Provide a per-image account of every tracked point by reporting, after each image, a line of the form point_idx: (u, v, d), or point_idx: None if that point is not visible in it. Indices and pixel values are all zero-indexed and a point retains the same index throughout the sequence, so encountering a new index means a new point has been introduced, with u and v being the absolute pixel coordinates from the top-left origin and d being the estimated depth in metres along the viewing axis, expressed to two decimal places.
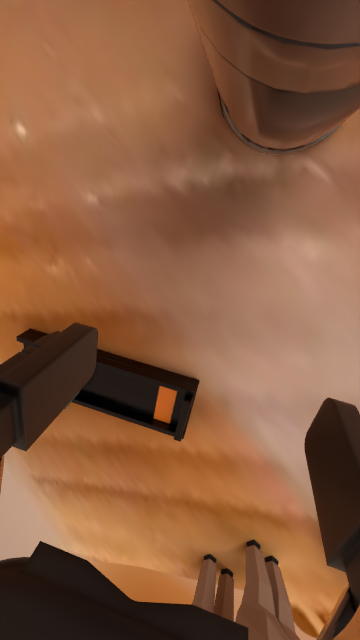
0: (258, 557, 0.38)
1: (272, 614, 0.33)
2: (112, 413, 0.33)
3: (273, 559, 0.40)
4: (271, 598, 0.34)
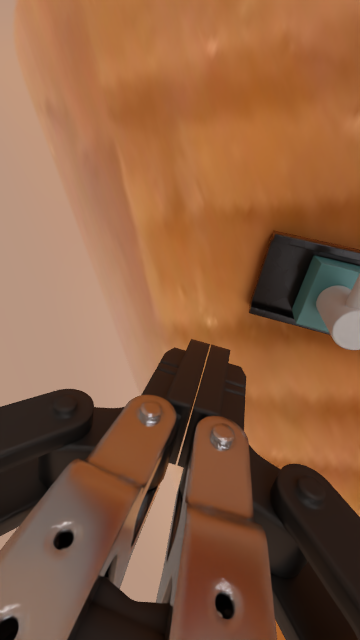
0: None
1: None
2: None
3: None
4: None
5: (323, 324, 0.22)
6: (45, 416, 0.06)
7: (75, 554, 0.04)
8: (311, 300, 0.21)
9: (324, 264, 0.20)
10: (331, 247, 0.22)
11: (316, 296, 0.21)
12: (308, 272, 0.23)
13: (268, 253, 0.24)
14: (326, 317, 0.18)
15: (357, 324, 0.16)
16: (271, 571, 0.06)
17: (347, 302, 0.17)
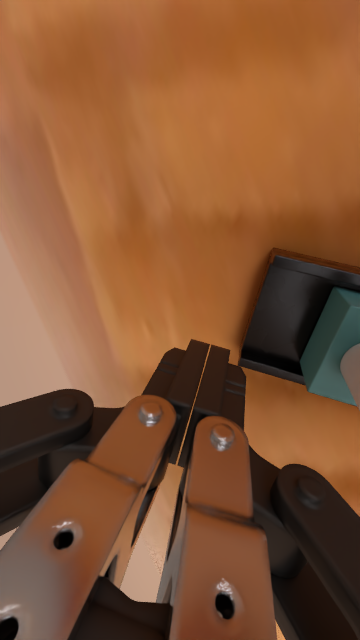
0: None
1: None
2: None
3: None
4: None
5: (350, 395, 0.14)
6: (45, 416, 0.06)
7: (75, 554, 0.04)
8: (332, 360, 0.14)
9: (355, 307, 0.12)
10: None
11: (340, 355, 0.13)
12: (325, 312, 0.15)
13: (265, 282, 0.16)
14: None
15: None
16: (271, 571, 0.06)
17: None
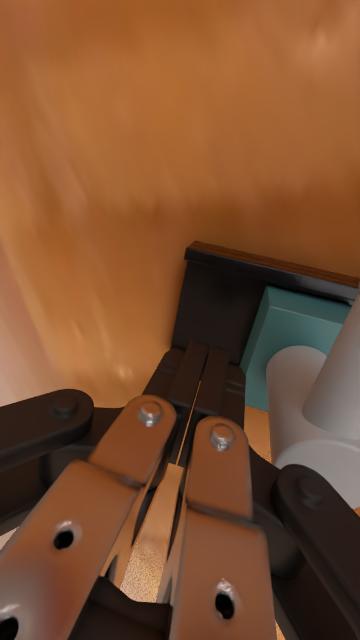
0: None
1: None
2: None
3: None
4: None
5: None
6: (45, 416, 0.06)
7: (75, 554, 0.04)
8: (258, 367, 0.12)
9: (275, 308, 0.11)
10: (279, 271, 0.12)
11: (265, 362, 0.12)
12: (258, 313, 0.14)
13: (185, 278, 0.15)
14: (270, 425, 0.09)
15: (326, 467, 0.07)
16: (271, 571, 0.06)
17: (306, 409, 0.08)
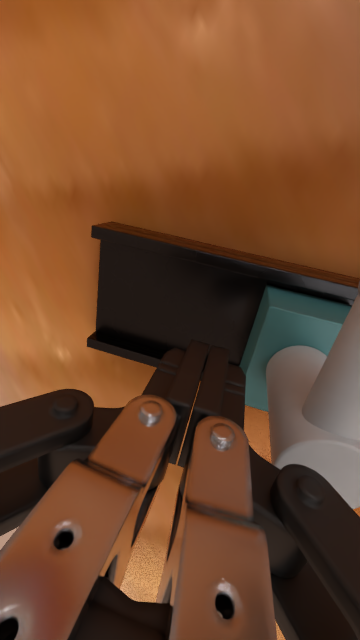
0: None
1: None
2: None
3: None
4: None
5: None
6: (45, 416, 0.06)
7: (75, 554, 0.04)
8: (257, 367, 0.12)
9: (275, 308, 0.11)
10: (176, 246, 0.13)
11: (265, 362, 0.12)
12: (258, 313, 0.14)
13: (101, 257, 0.15)
14: (270, 425, 0.09)
15: (326, 467, 0.07)
16: (271, 571, 0.06)
17: (306, 409, 0.08)
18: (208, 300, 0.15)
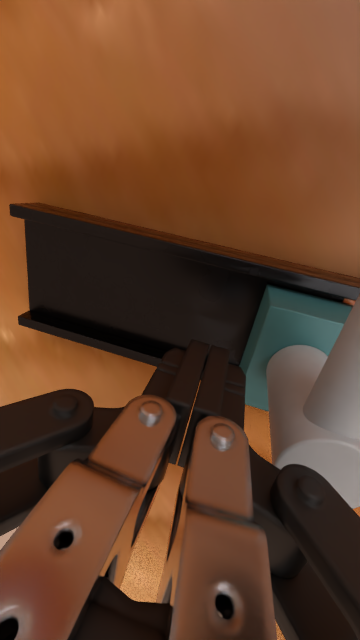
0: None
1: None
2: None
3: None
4: None
5: None
6: (46, 416, 0.06)
7: (75, 554, 0.04)
8: (258, 367, 0.12)
9: (276, 307, 0.11)
10: (86, 223, 0.14)
11: (266, 361, 0.12)
12: (258, 313, 0.14)
13: (26, 236, 0.16)
14: (270, 424, 0.09)
15: (327, 466, 0.07)
16: (271, 571, 0.06)
17: (306, 408, 0.08)
18: (127, 278, 0.15)
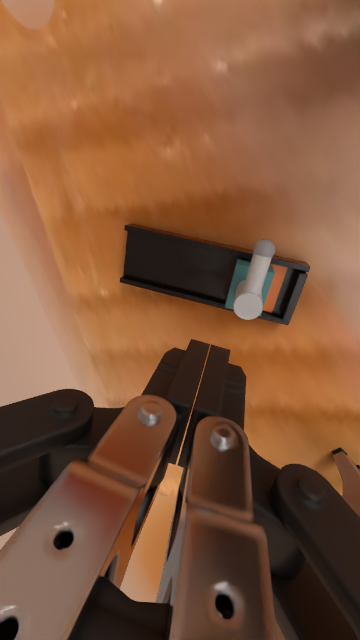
0: (349, 459, 0.38)
1: None
2: (215, 303, 0.34)
3: (359, 468, 0.40)
4: None
5: None
6: (45, 416, 0.06)
7: (75, 554, 0.04)
8: (233, 290, 0.30)
9: (238, 264, 0.29)
10: (160, 233, 0.32)
11: (235, 287, 0.30)
12: None
13: (127, 239, 0.34)
14: None
15: (247, 302, 0.25)
16: (271, 571, 0.06)
17: (243, 288, 0.26)
18: (175, 257, 0.34)
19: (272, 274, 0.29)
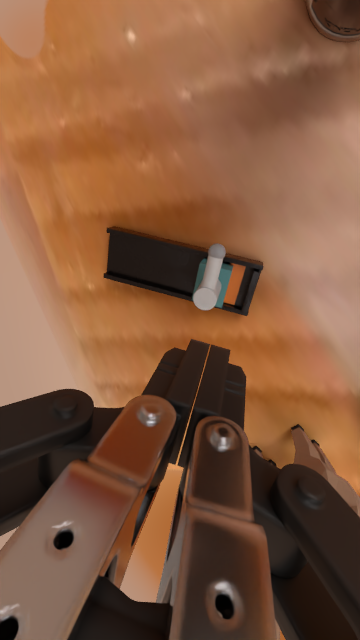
0: (304, 434, 0.43)
1: None
2: (185, 296, 0.39)
3: (315, 442, 0.46)
4: (319, 458, 0.40)
5: None
6: (45, 416, 0.06)
7: (75, 554, 0.04)
8: (198, 285, 0.35)
9: (201, 263, 0.34)
10: (137, 235, 0.37)
11: (200, 283, 0.35)
12: None
13: (109, 240, 0.39)
14: None
15: (204, 295, 0.31)
16: (271, 571, 0.06)
17: (201, 284, 0.31)
18: (150, 256, 0.39)
19: (230, 272, 0.34)
